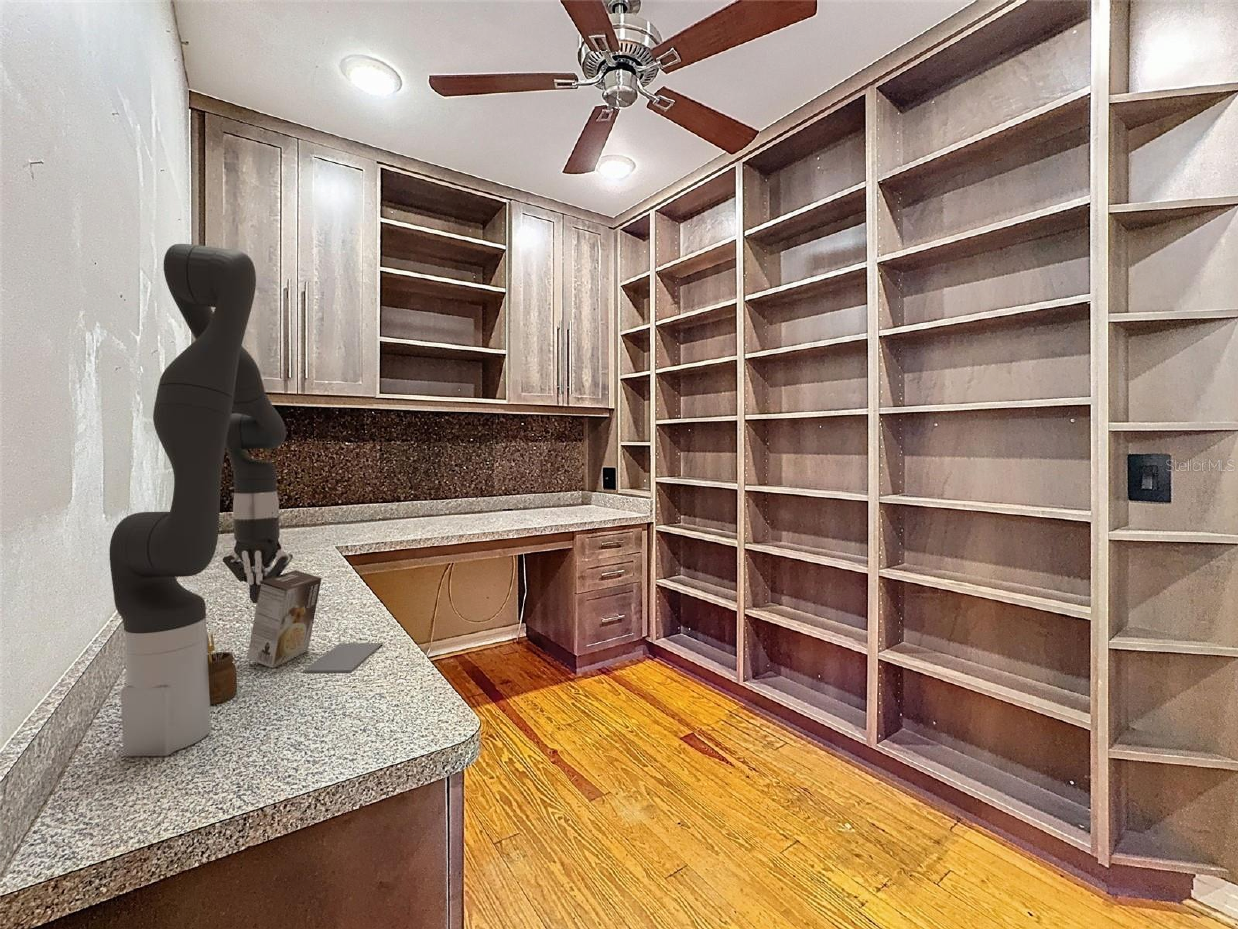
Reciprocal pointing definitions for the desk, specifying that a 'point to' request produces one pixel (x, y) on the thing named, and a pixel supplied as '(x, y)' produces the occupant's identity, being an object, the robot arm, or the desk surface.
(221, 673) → the utensil holder
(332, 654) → the grey flat board
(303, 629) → the coffee box
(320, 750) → the desk surface
